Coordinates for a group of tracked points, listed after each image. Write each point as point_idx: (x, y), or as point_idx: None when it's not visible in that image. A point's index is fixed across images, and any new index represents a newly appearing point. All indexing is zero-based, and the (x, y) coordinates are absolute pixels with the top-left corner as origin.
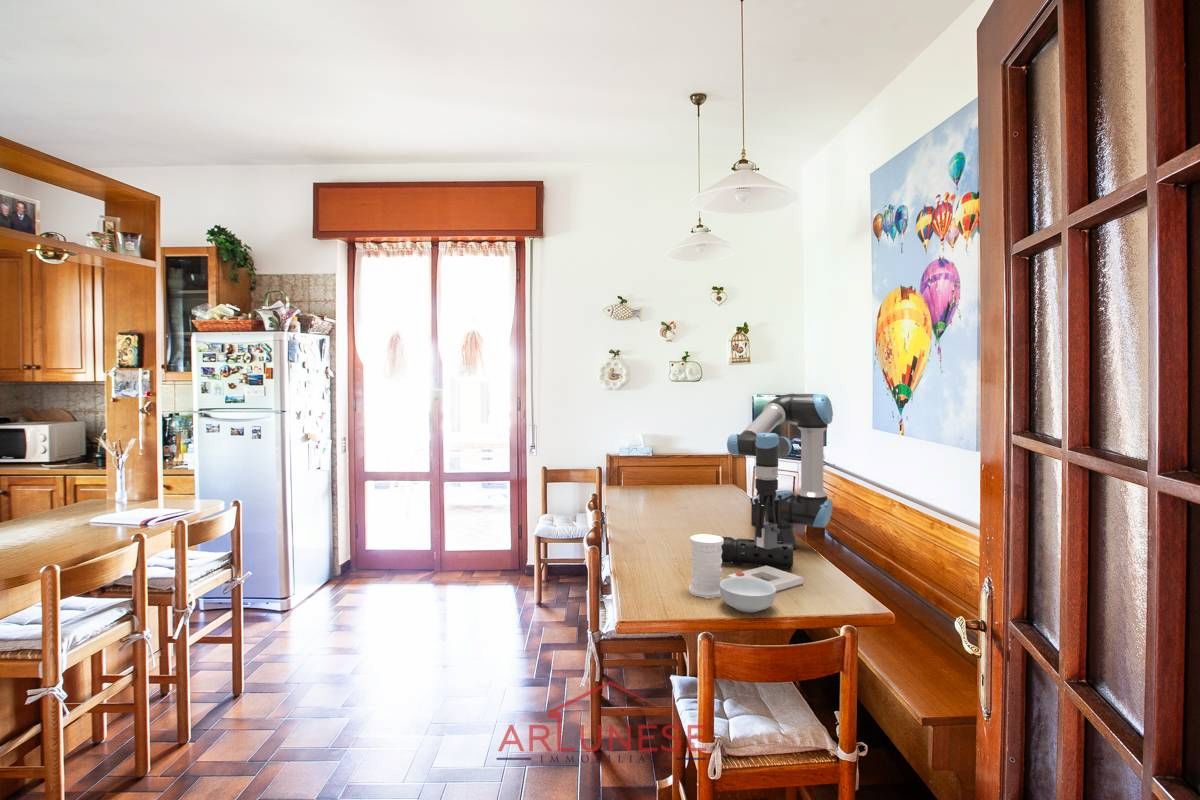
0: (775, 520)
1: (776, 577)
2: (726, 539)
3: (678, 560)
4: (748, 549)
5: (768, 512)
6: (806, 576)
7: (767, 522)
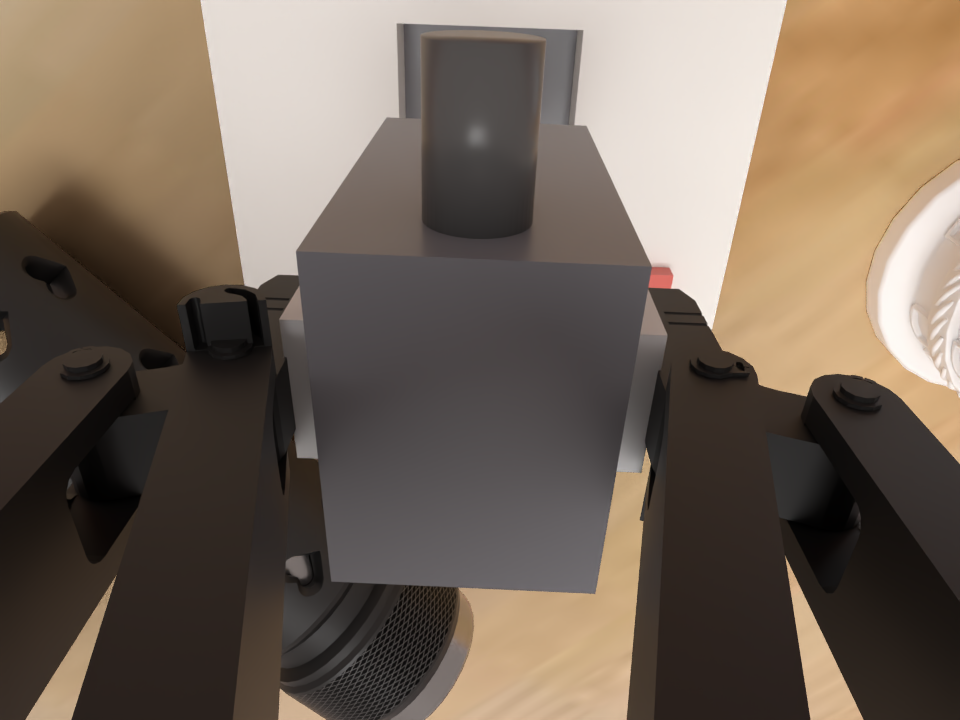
0: (202, 398)
1: (398, 78)
2: (378, 683)
3: (576, 690)
4: (292, 513)
5: (273, 675)
6: (13, 33)
7: (372, 471)
